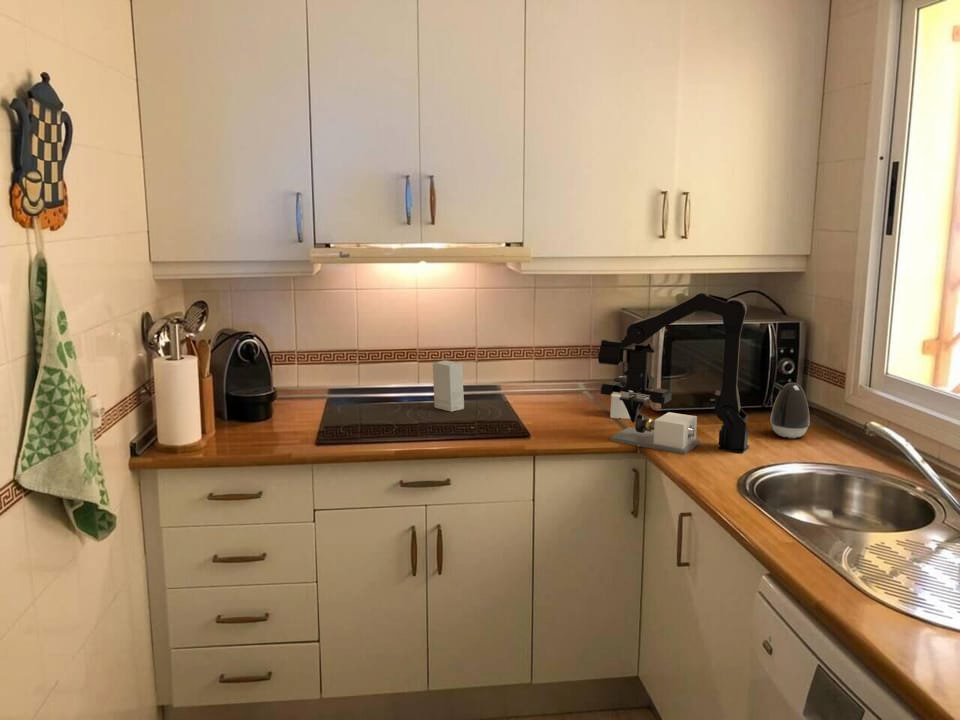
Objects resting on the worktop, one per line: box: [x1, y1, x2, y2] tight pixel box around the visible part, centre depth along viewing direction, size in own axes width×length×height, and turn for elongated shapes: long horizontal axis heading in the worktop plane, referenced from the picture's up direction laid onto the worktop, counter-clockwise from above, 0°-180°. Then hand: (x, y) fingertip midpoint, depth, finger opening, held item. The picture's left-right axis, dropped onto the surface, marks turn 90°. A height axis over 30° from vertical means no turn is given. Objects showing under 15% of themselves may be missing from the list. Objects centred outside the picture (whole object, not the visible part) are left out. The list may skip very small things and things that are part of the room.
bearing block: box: [609, 411, 701, 455], centre depth 217 cm, size 21×12×8 cm, turn 56°
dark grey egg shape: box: [769, 382, 811, 439], centre depth 223 cm, size 10×10×15 cm
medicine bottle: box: [609, 375, 633, 420], centre depth 243 cm, size 7×7×12 cm
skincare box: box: [432, 360, 465, 412], centre depth 251 cm, size 8×6×15 cm
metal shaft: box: [634, 413, 697, 437], centre depth 216 cm, size 16×5×5 cm, turn 56°
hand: (633, 422), depth 221 cm, fingers closed
